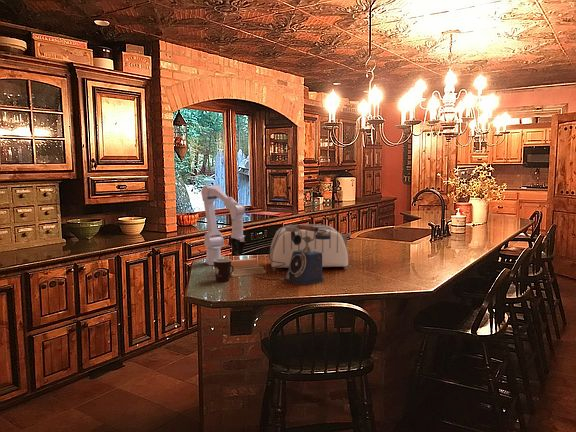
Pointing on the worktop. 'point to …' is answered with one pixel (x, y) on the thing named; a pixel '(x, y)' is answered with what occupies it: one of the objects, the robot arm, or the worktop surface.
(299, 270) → the rotary telephone
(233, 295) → the worktop surface
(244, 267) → the drying rack
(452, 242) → the worktop surface
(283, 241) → the toaster
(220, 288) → the worktop surface
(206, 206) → the robot arm
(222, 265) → the coffee mug
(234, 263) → the clay strip
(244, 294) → the worktop surface
